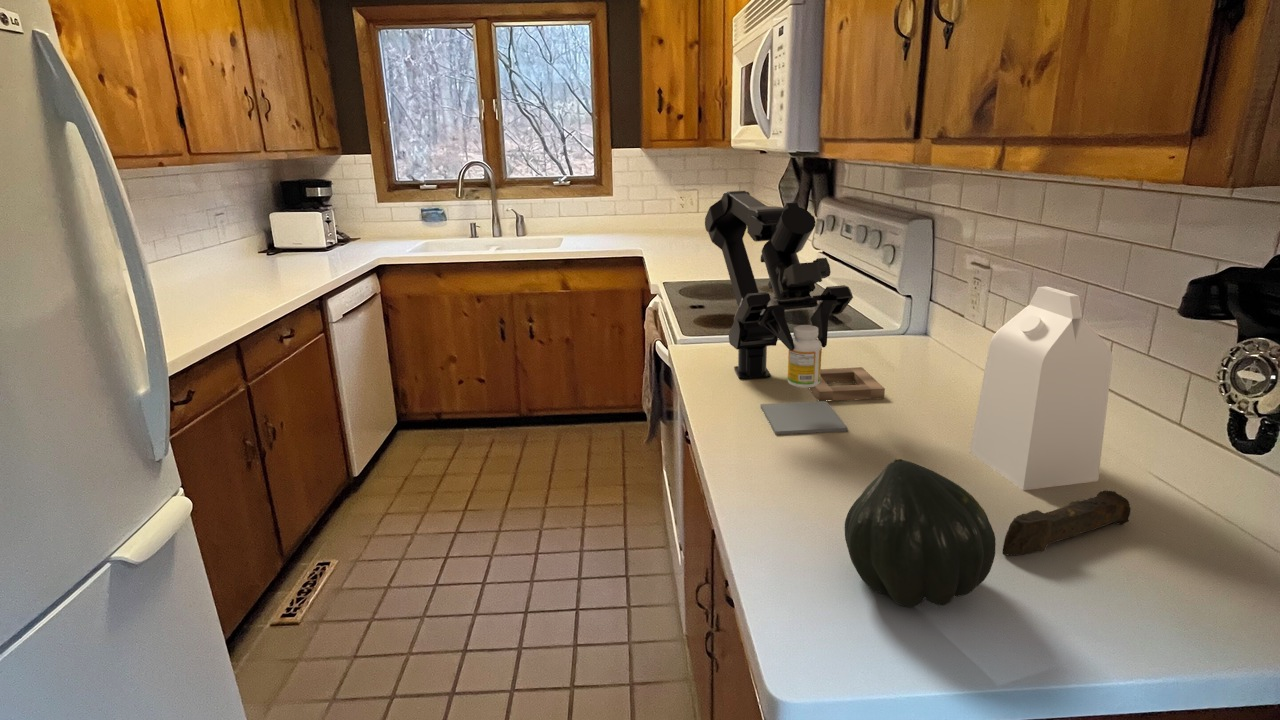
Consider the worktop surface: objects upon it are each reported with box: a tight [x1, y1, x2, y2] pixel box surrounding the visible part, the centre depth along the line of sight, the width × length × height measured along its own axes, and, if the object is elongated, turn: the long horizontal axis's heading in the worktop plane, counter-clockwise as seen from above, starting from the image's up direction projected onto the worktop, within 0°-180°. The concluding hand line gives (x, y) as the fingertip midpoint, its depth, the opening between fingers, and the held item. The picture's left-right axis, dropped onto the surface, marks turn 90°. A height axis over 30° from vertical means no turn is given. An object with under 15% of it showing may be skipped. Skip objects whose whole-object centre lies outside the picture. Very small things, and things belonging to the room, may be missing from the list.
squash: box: [844, 457, 997, 608], centre depth 75 cm, size 14×15×15 cm
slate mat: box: [760, 400, 849, 436], centre depth 120 cm, size 12×12×1 cm
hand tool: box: [1001, 490, 1132, 557], centre depth 84 cm, size 19×4×5 cm, turn 110°
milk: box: [969, 285, 1113, 491], centre depth 97 cm, size 12×12×26 cm
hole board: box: [808, 366, 886, 401], centre depth 133 cm, size 12×12×2 cm
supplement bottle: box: [787, 324, 823, 389], centre depth 117 cm, size 5×5×10 cm
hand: (808, 348), depth 115 cm, fingers closed on supplement bottle, 5 cm apart
